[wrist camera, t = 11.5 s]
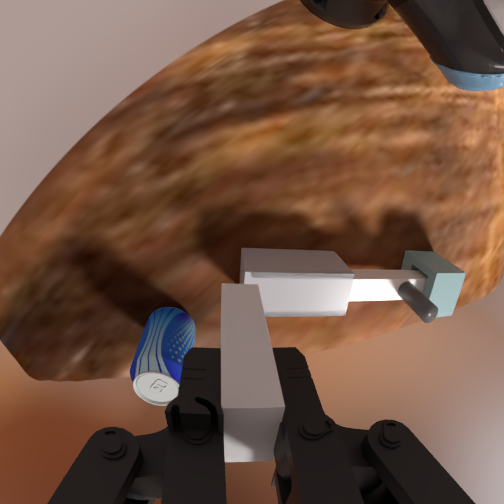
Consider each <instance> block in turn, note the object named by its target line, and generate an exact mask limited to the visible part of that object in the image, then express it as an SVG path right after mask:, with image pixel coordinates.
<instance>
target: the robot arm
mask: <svg viewBox="0 0 504 504" xmlns="http://www.w3.org/2000/svg"><path fill="white" fill-rule="evenodd" d="M301 1H302V2H303V3H304V5H305V6H306V7H307V8H308V9H309V10H310V11H311V12H312V13H314V14H315V15H316V16H318V17H319V18H321V19H322V20H324V21H326V22H328V23H330V24H333V25H335V26H338V27H342V28H347V29H362V28H366V27H369V26H371V25H373V24H375V23H376V22H378V21H379V20H380V19H382V18H383V16H384V15H385V14H386V12H387V10H388V8H389V5H391V6H392V7H393V8H394V10H395V11H396V12H397V13H398V14H399V16H400V17H401V18H402V19H403V20H404V22H405V23H406V24H407V25H408V27H409V28H410V29H411V30H412V32H413V33H414V34H415V35H416V37H417V38H418V39H419V41H420V42H421V43H422V45H423V46H424V48H425V49H426V50H427V52H428V53H429V55H430V58H431V60H432V61H433V63H434V64H436V65H437V66H438V68H439V69H440V70H441V72H442V73H443V75H444V76H445V78H446V79H447V80H448V81H449V82H450V83H451V84H453V85H454V86H456V87H457V88H460V89H463V90H468V91H489V90H495V89H499V88H502V87H504V0H301ZM180 378H181V379H180V384H179V391H178V397H175V398H174V399H173V400H172V401H171V402H170V403H168V405H167V408H166V410H165V415H166V419H167V424H168V427H166V428H165V429H163V430H161V431H159V432H156V433H152V434H147V435H140V436H133V434H132V433H130V432H128V431H126V430H125V429H123V428H118V427H107V428H103V429H101V430H99V431H96V432H95V433H94V434H93V435H92V436H91V437H90V438H89V440H88V442H87V443H86V444H85V446H84V448H83V449H82V451H81V452H80V454H79V455H78V457H77V458H76V460H75V461H74V463H73V464H72V466H71V467H70V469H69V471H68V472H67V474H66V475H65V477H64V478H63V480H62V482H61V483H60V485H59V486H58V488H57V489H56V491H55V493H54V494H53V496H52V497H51V499H50V501H49V502H48V504H154V502H155V499H157V498H162V501H161V504H227V503H226V482H225V462H256V461H272V459H273V455H274V456H275V462H276V468H275V471H274V475H273V478H272V483H271V486H275V485H276V491H277V498H278V504H475V503H474V502H473V500H472V499H471V498H470V497H469V496H468V495H467V494H466V493H465V491H464V490H463V489H462V488H461V487H460V486H459V485H458V484H457V483H456V481H455V480H454V479H453V478H452V477H451V476H450V475H449V473H448V472H447V471H446V470H445V469H444V468H443V467H442V466H441V465H440V463H439V462H438V461H437V460H436V459H435V458H434V457H433V455H432V454H431V453H430V452H429V451H428V450H427V449H426V448H425V446H424V445H423V444H422V443H421V442H420V441H419V440H418V439H417V437H416V436H415V435H414V434H413V433H412V432H411V431H410V430H409V429H408V428H407V427H406V426H405V425H403V424H402V423H400V422H397V421H395V420H382V421H378V422H376V423H375V424H373V425H372V426H371V428H370V429H369V430H362V429H352V428H346V427H342V426H339V425H337V424H335V422H334V421H333V420H332V419H331V418H330V417H328V416H327V415H325V413H324V411H323V409H322V406H321V403H320V400H319V397H318V394H317V391H316V388H315V385H314V382H313V380H312V378H311V374H310V371H309V369H308V365H307V362H306V359H305V356H304V355H303V354H302V353H301V352H300V351H299V350H298V349H297V348H296V347H287V348H272V345H271V341H270V336H269V332H268V327H267V322H266V318H265V313H264V309H263V304H262V300H261V295H260V291H259V286H258V284H224V283H222V294H221V348H195V347H191V348H190V350H189V351H188V352H187V353H186V354H185V356H184V357H183V364H182V370H181V377H180Z"/></svg>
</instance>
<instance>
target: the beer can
mask: <svg viewBox="0 0 504 504" xmlns="http://www.w3.org/2000/svg"><path fill="white" fill-rule="evenodd" d="M195 333H196V328H195V324H194V321H193V320H192V318H191V317H190V316H189V315H188V314H187V313H185V312H184V311H182V310H180V309H178V308H175V307H163V308H159V309H157V310H155V311H154V312H153V313H152V314H151V315H150V316H149V318H148V321H147V323H146V326H145V329H144V331H143V334H142V337H141V339H140V342H139V345H138V348H137V351H136V353H135V356H134V359H133V362H132V365H131V368H130V376H131V379H132V381H133V388H134V391H135V392H136V394H137V395H138V396H139V397H141V398H142V399H143V400H145V401H147V402H149V403H151V404H154V405H161V406H166V405H168V403H170V402H171V401H172V400H173V399H174V398H175V397H178V391H179V384H180V379H181V378H180V377H181V370H182V364H183V357H184V356H185V354H186V353H187V352H188V351H189V350H190V348H191V347H194V341H195Z"/></svg>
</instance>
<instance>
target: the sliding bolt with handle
mask: <svg viewBox="0 0 504 504" xmlns="http://www.w3.org/2000/svg"><path fill="white" fill-rule="evenodd" d="M351 270H352V272H353V273H354V279H353V284H352V288H351V293H350V297H349V301H377V300H404V302H405V303H406V304H407V305H408V306H409V307H410V308H411V309H412V310H413V311H414V312H415V313H416V314H417V315H418V316H419V317H420V318H421V319H422V320H423V321H424V322H425V323H429V322H431V321H433V320H434V319H435V317H436V316H437V314H438V307H437V306H436V305H435V304H434V303H432V302H431V301H430V300H429V299H428V298H427V297H426V296H425V295H424V294H423V293H424V289H425V286H426V283H427V279H428V276H427V275H426V274H425V273H423V272H422V271H421V270H375V269H351Z"/></svg>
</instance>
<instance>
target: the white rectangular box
mask: <svg viewBox="0 0 504 504" xmlns="http://www.w3.org/2000/svg"><path fill="white" fill-rule="evenodd" d="M353 279H354V273H353V272H352V270H351V269H350V268H349V267H348V266H347V265H346V264H345V263H344V261H343V260H342V259H341V258H340V257H339V256H338V255H337V254H336V253H335V252H334V251H319V250H292V249H265V248H241V265H240V282H239V284H258V286H259V291H260V295H261V300H262V304H263V309H264V313H265V317H302V316H344V315H345V314H346V310H347V306H348V301H349V297H350V293H351V288H352V284H353Z"/></svg>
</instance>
